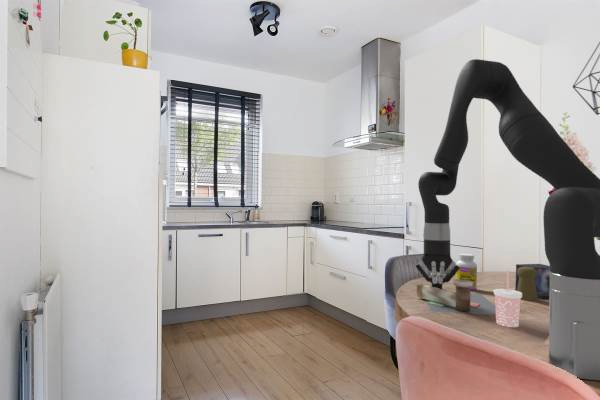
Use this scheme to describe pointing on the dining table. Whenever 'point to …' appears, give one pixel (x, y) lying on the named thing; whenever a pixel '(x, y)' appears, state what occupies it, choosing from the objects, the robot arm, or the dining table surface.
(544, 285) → the small box
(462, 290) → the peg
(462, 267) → the supplement bottle
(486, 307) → the grey flat slab
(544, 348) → the dining table surface
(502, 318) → the beverage cup
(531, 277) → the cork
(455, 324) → the dining table surface
